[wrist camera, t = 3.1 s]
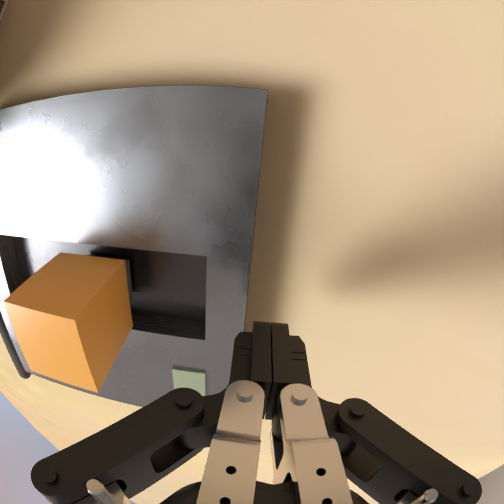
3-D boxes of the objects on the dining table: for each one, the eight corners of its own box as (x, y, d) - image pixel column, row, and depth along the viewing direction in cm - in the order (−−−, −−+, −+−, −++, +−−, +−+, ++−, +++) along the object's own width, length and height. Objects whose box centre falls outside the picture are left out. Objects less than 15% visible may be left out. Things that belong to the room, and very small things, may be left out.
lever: (75, 240, 15) (3, 300, 9) (136, 247, 15) (74, 319, 9) (85, 300, 17) (30, 370, 11) (142, 310, 17) (98, 392, 11)
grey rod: (-13, 265, 17) (-24, 273, 16) (-3, 267, 17) (-14, 275, 16) (25, 369, 22) (19, 379, 20) (35, 373, 22) (28, 383, 20)
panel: (-10, 115, 13) (-33, 119, 11) (266, 94, 13) (267, 89, 11) (35, 356, 21) (24, 372, 19) (236, 400, 21) (234, 423, 19)
